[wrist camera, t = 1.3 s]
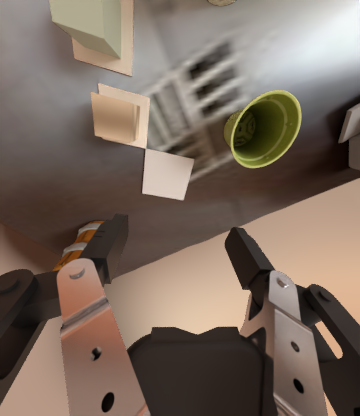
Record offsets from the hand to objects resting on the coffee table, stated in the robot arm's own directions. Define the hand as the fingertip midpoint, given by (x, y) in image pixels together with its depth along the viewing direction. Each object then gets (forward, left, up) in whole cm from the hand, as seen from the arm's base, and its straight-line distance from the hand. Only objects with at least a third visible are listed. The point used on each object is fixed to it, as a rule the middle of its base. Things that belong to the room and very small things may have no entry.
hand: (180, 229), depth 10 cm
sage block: (-15, -13, -21) cm, 29 cm away
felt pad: (+4, -1, -22) cm, 22 cm away
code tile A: (-5, -10, -22) cm, 24 cm away
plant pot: (-8, +11, -22) cm, 26 cm away
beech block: (-5, -10, -21) cm, 24 cm away
